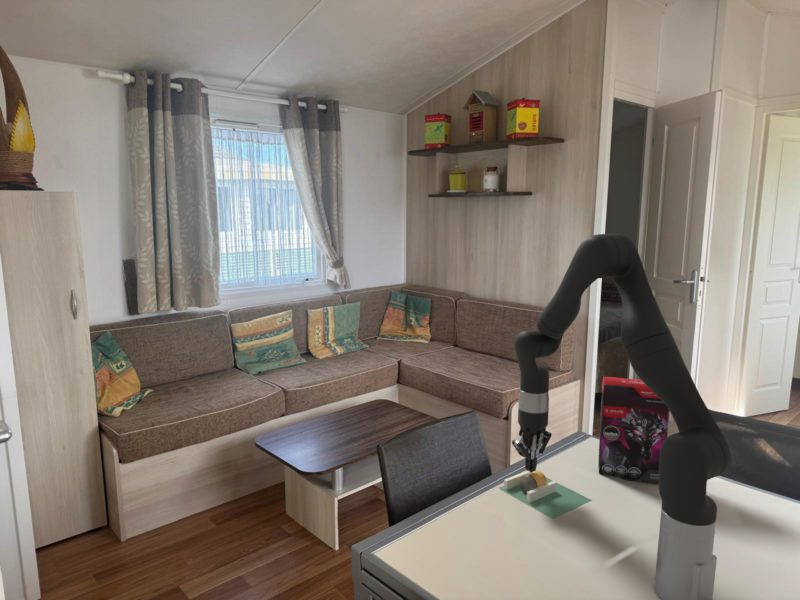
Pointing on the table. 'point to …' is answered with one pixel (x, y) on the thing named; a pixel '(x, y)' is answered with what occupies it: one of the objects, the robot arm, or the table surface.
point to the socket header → (531, 494)
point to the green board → (551, 500)
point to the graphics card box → (631, 430)
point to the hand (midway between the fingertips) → (530, 470)
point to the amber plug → (532, 481)
